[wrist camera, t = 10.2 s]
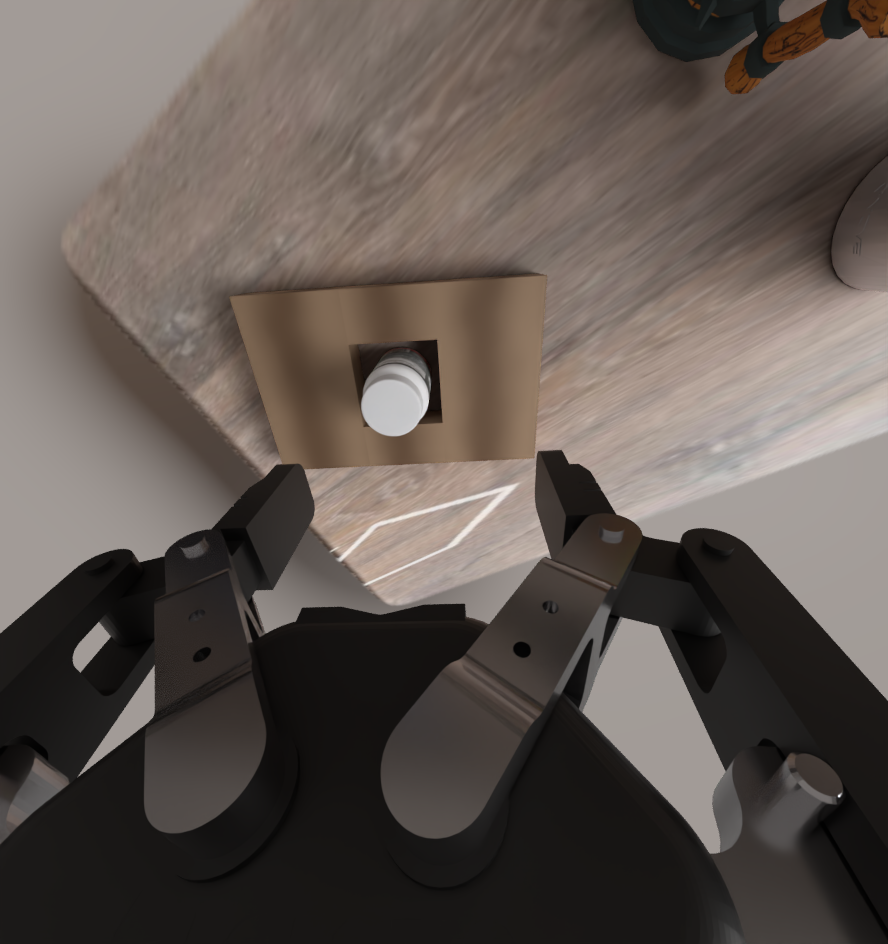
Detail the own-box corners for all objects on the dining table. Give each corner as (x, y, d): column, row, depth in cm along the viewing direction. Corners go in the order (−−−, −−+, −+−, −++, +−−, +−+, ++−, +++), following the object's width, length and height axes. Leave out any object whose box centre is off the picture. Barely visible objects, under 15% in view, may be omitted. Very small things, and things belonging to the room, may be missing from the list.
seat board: (538, 273, 28) (547, 275, 25) (527, 443, 35) (534, 458, 32) (249, 292, 28) (229, 296, 26) (296, 454, 35) (284, 470, 33)
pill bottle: (416, 410, 33) (407, 454, 26) (367, 385, 32) (344, 423, 25) (442, 364, 31) (440, 397, 24) (391, 335, 30) (373, 360, 23)
